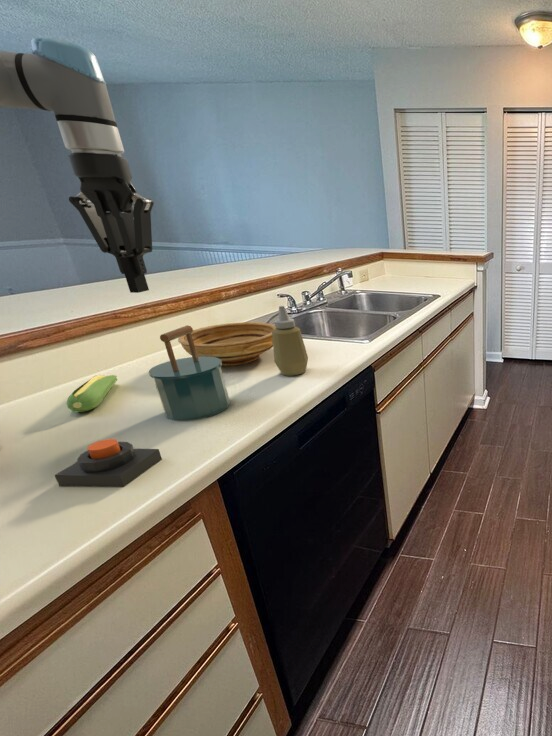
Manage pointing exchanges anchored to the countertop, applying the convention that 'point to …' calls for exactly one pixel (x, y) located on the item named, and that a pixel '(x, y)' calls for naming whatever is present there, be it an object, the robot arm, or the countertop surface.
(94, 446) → the button
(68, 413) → the countertop surface
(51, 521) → the countertop surface
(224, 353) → the wooden bowl
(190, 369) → the lid
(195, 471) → the countertop surface
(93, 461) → the block
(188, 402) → the jar
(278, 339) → the squeeze bottle
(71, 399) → the edible corn
